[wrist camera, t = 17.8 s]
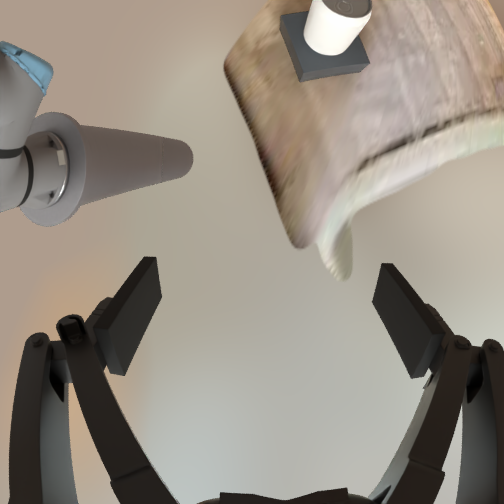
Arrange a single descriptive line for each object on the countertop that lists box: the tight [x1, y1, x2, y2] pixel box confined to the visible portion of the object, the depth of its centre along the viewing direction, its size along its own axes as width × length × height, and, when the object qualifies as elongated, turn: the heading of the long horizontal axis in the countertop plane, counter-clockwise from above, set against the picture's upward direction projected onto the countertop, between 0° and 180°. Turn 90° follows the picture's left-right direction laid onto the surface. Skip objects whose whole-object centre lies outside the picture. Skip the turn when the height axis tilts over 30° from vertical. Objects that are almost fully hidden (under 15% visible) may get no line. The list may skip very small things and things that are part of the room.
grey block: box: [280, 11, 370, 82], centre depth 33 cm, size 10×10×5 cm
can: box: [304, 0, 372, 56], centre depth 25 cm, size 6×6×12 cm
